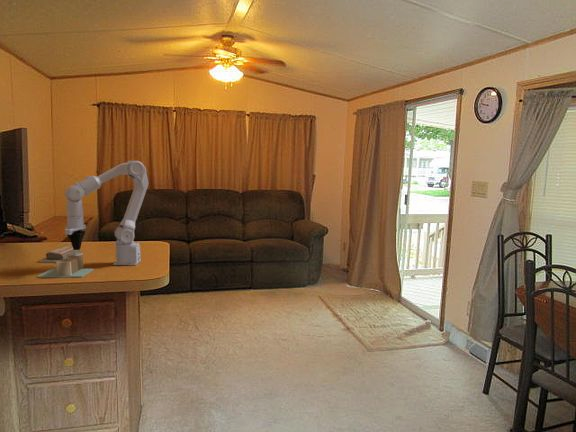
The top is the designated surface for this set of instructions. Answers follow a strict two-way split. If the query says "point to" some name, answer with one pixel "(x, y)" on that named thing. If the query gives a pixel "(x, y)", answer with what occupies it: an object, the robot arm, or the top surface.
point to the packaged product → (60, 254)
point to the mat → (53, 273)
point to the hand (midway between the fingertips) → (76, 249)
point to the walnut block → (69, 265)
